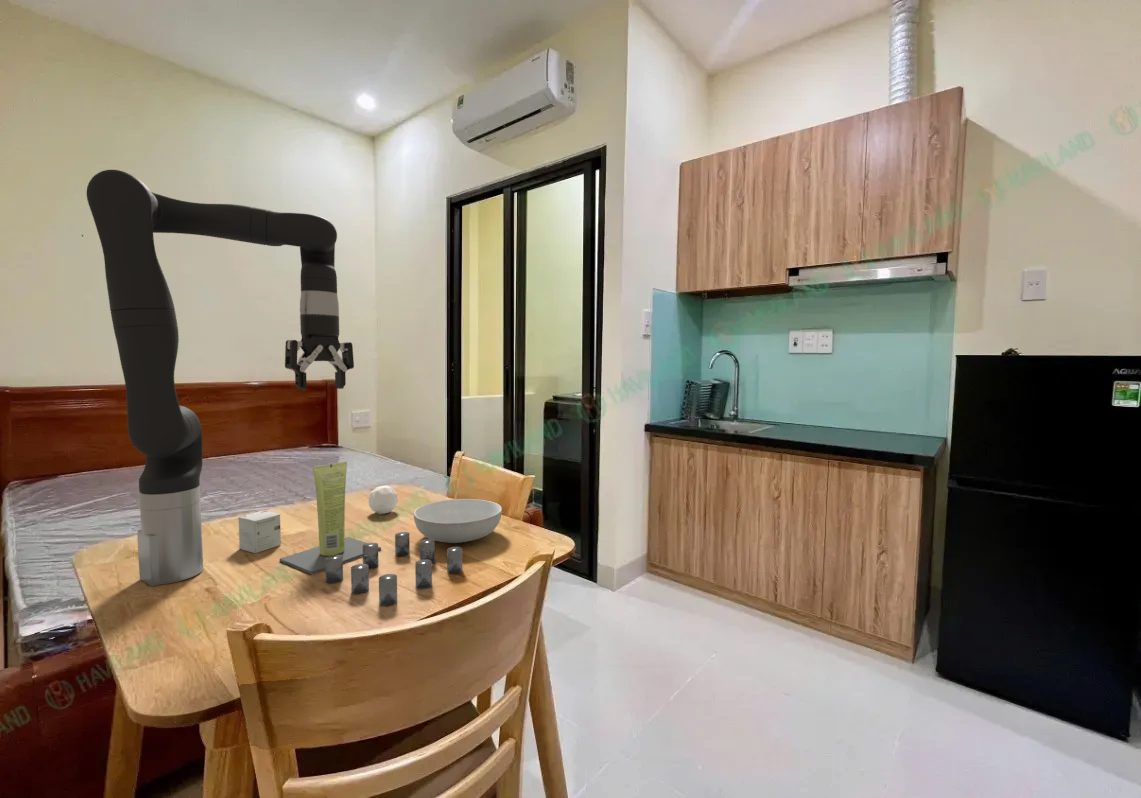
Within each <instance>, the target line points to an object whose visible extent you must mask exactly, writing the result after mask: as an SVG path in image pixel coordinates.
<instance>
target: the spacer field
mask: <svg viewBox="0 0 1141 798" xmlns="http://www.w3.org/2000/svg"><path fill="white" fill-rule="evenodd" d="M435 545H436V541H435V540H433V539H429V538H426V539H422V540H420V541H419V558H420V559H419V560H417V561H416V562H415V564H414V565H415V567H414V568H415V569H414V570H415V588H416V589H418V590H425V589H426V590H427V589H429V588H431V587H432V586H433V564H435V562H436V551H435V550H436V549H435V548H436V546H435ZM410 546H411V545H410V532H408V531H400V532H397V533H395V534H394V547H395V548H394V552H395V553H394V554H395V555H394V556H395V557H397V558H403V557H407V556H409V555H410ZM362 547H363V557H362V563H358V564H354V565H352V566H351V567H350V584H351V585H350V586H351V587H350V588H351V589H350V590H351V594H353V595H363V594H366V593H367V592H369V591H370V580H369V579H370V578H369V577H370V576H369V575H370V573H369V572H370V571H369V570H373V569H376V568H378V567H379V551H378V547H379V543H378V542H366V544H364V545H363V546H362ZM325 560H326V570H325V583H327V584H328V585H330V584H331V585H333V584H337V583H340V582H342V581H343V580H344V563H343V556H342V555H331V556H328V557H326V559H325ZM446 565H447V566H446V570H447V571H446V573H448V574H449V575H458V574H461V573H462V572H463V548H462V547H461V546H452V547H449V548H447V549H446ZM378 598H379V599H378V603H379V605H380V606H381V607H391V606H394V605H396V604H397V603H398V576H397V574H394V573H385V574H381V576H379V577H378Z"/></svg>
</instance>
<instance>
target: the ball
mask: <svg viewBox="0 0 1141 798" xmlns="http://www.w3.org/2000/svg"><path fill="white" fill-rule="evenodd" d="M367 499H368V505H369V508H370V510H372V511H373V512H375V513H376V514H379V515H385V514H389V513H390V512H392V511H393V510H395V508H396V506H397V504H398V503H399V500H398V499H399V498H398V493H397V491H396V490H395V489H394V488H393V487H391V486H389V485H387V484H386V485H380V486H377V487H375V488H374V489H373V490H372V491H370V493H369V496H368V497H367Z"/></svg>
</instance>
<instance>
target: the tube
mask: <svg viewBox="0 0 1141 798" xmlns="http://www.w3.org/2000/svg"><path fill="white" fill-rule="evenodd" d="M347 467H348V462H347V461H343V462H335V463H334V462H333V463H328V464H321V465H314V466H313V467H312V468H313V469H312V470H313V471H312V473H313V477H314V486H315V495H316V497H315V498H316V507H317V510H316V511H317V523H318V528H317V529H318V546H319V550H320V554H321V555H323V556H331V555H337V554H340V553H342V552H343V551H344V549H345V538H346V537H345V528H346V527H345V526H346V525H345V519H346V518H345V517H346V516H345V513H346V486H347V485H346V483H347V481H346V480H347V470H348V469H347Z"/></svg>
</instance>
